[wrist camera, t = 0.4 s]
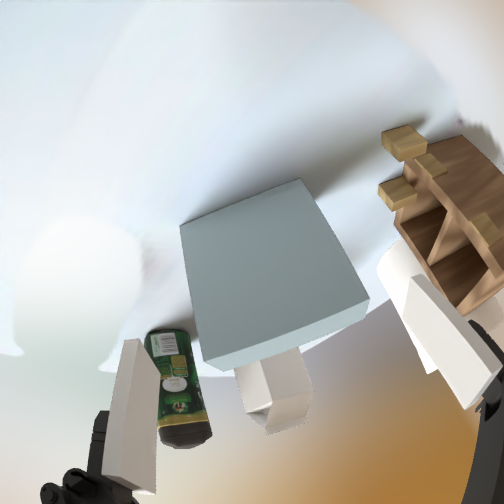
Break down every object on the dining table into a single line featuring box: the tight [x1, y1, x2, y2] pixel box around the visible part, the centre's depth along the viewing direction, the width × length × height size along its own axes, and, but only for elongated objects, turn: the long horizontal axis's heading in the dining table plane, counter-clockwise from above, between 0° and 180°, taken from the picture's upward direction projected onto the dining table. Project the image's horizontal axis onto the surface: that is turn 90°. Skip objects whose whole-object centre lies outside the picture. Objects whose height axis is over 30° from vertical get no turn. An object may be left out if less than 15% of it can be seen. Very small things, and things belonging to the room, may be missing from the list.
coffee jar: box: [144, 330, 212, 449], centre depth 39 cm, size 10×8×19 cm
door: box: [179, 178, 370, 372], centre depth 24 cm, size 4×12×13 cm, turn 105°
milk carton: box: [234, 347, 314, 435], centre depth 38 cm, size 7×7×19 cm
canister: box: [377, 237, 504, 374], centre depth 39 cm, size 16×16×20 cm
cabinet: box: [378, 125, 504, 317], centre depth 25 cm, size 16×14×16 cm
